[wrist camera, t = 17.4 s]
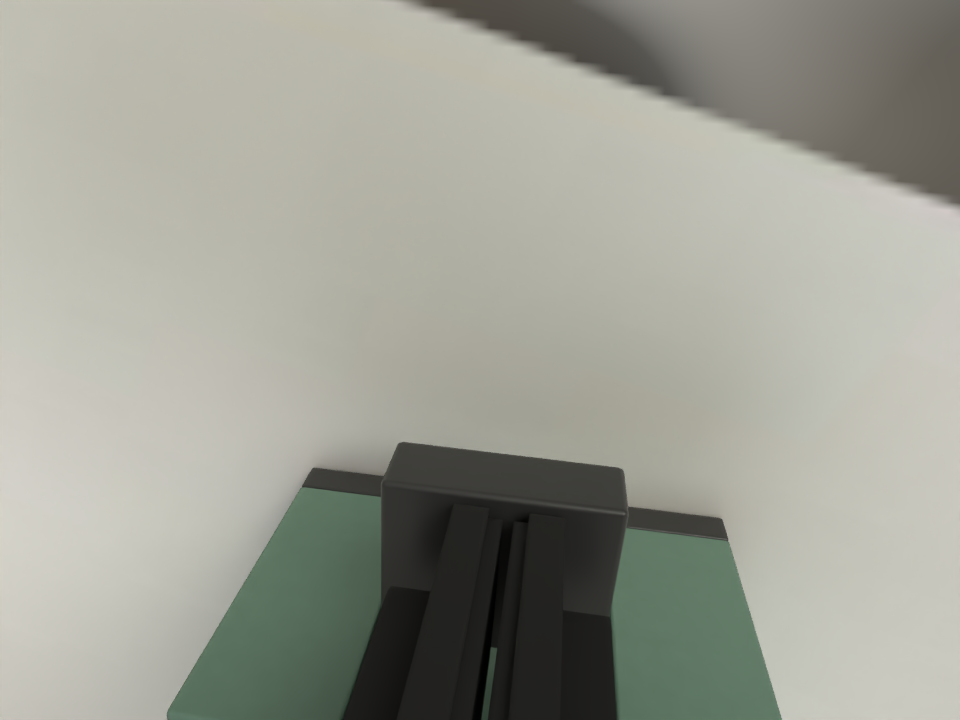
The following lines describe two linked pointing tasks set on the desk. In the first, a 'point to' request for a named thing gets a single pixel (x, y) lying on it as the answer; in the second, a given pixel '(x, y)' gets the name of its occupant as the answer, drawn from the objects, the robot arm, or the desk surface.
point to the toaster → (357, 603)
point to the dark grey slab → (502, 516)
